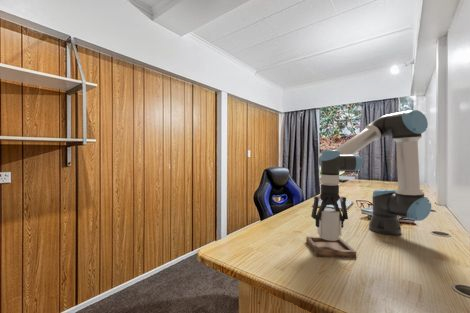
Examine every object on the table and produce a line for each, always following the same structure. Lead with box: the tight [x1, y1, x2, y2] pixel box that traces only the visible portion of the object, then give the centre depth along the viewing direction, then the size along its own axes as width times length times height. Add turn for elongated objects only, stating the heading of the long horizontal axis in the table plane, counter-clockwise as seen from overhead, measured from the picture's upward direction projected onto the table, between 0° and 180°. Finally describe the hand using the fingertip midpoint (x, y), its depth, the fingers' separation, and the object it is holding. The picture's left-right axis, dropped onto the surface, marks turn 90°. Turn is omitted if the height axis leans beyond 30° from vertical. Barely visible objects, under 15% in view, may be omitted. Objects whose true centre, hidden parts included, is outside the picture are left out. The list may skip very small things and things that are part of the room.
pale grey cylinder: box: [319, 207, 340, 241], centre depth 100 cm, size 8×8×12 cm
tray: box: [305, 236, 357, 259], centre depth 100 cm, size 16×16×2 cm
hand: (329, 234), depth 100 cm, fingers closed on pale grey cylinder, 8 cm apart
